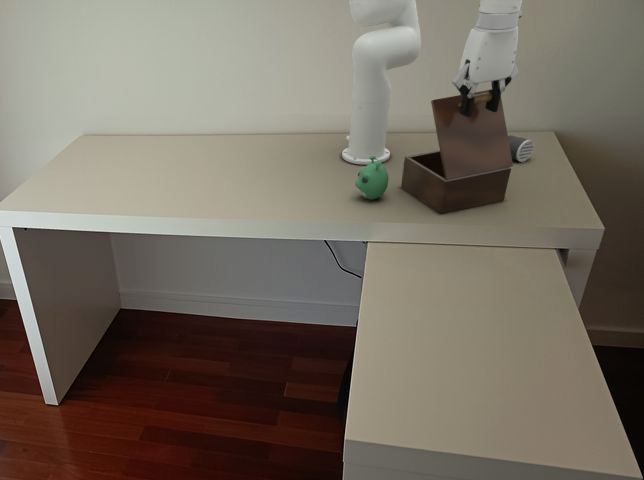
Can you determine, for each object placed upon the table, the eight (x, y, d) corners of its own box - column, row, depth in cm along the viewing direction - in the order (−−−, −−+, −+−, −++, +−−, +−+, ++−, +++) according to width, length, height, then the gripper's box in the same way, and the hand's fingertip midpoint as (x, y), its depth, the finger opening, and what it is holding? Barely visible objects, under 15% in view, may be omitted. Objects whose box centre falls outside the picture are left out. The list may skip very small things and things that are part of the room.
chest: (400, 187, 160) (404, 156, 155) (459, 175, 162) (465, 145, 158) (440, 214, 147) (445, 181, 142) (503, 200, 149) (511, 168, 145)
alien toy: (349, 194, 159) (353, 154, 153) (380, 190, 159) (385, 151, 153) (358, 206, 153) (362, 165, 147) (390, 202, 153) (395, 162, 147)
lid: (430, 101, 141) (444, 93, 136) (497, 89, 143) (512, 80, 138) (445, 180, 142) (459, 175, 137) (510, 166, 145) (526, 161, 140)
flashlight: (470, 147, 176) (473, 127, 173) (485, 142, 178) (489, 123, 175) (515, 163, 165) (520, 143, 162) (531, 159, 167) (536, 138, 163)
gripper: (521, 11, 132) (501, 101, 143) (447, 23, 129) (432, 114, 141) (547, 17, 127) (524, 111, 138) (470, 30, 124) (453, 124, 135)
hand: (478, 111), depth 139 cm, fingers closed on lid, 5 cm apart
